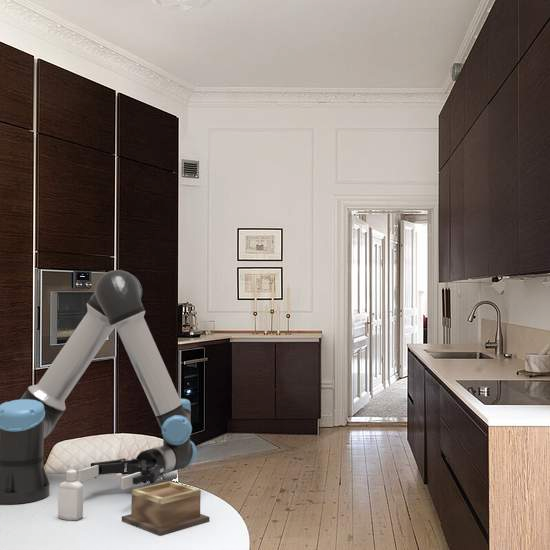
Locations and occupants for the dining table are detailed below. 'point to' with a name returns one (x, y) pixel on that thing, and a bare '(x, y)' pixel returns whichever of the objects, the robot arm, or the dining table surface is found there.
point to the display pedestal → (165, 508)
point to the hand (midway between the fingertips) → (100, 479)
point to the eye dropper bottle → (70, 497)
